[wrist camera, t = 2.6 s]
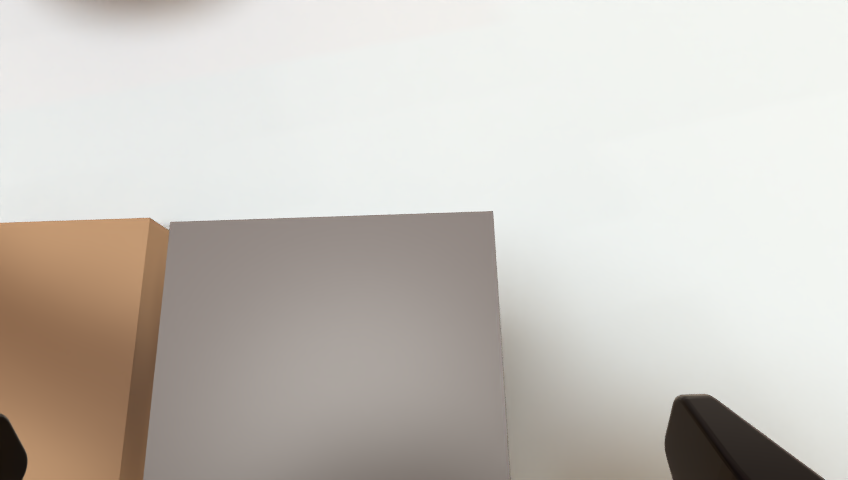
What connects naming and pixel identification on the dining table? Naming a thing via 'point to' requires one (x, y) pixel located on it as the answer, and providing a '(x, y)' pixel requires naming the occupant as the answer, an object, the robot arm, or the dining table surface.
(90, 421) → the cardboard box
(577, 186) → the dining table surface
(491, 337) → the gift box with lid
